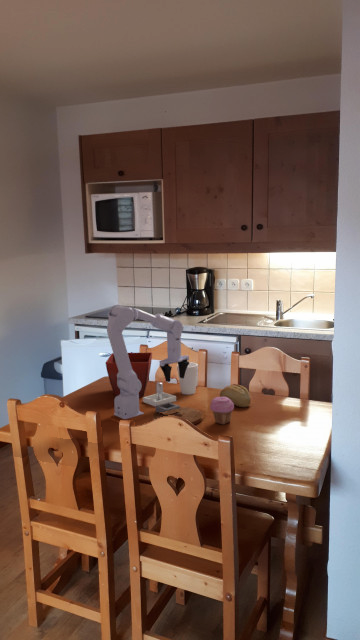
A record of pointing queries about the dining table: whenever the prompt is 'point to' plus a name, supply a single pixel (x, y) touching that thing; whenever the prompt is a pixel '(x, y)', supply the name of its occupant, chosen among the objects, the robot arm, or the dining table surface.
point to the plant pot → (139, 366)
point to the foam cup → (189, 379)
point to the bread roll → (237, 395)
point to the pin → (159, 391)
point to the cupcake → (222, 409)
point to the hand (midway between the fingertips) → (175, 379)
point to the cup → (166, 407)
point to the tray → (153, 402)
